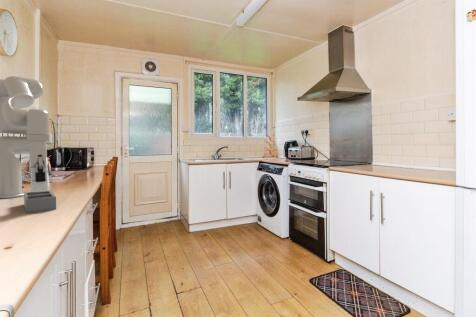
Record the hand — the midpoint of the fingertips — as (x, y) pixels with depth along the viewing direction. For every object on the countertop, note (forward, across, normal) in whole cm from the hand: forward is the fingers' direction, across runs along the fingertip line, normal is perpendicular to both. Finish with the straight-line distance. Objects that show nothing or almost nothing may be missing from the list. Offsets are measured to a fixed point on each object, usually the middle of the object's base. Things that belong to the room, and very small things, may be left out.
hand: (39, 180), depth 108 cm
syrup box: (+5, 0, 0) cm, 5 cm away
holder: (+12, -5, 0) cm, 13 cm away
